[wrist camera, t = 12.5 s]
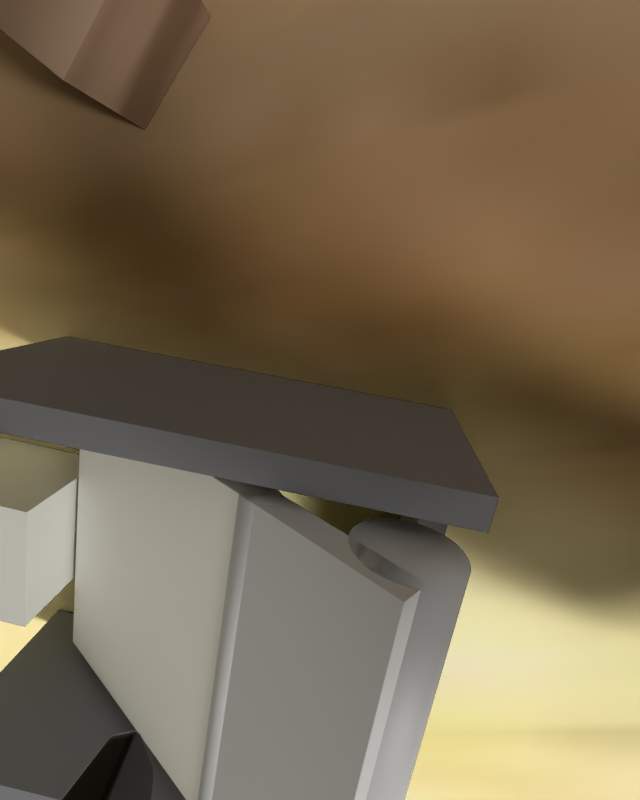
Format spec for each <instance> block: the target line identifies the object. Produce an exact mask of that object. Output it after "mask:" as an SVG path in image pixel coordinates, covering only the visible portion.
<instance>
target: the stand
mask: <svg viewBox="0 0 640 800" xmlns="http://www.w3.org/2000/svg"><path fill="white" fill-rule="evenodd" d="M209 18H210V14H209V12H208V11H207V9H206V8H205V6H204V5H203V3H202V2H201V0H0V29H1V30H2V31H3V32H4V33H6V34H7V35H8V36H9V37H10V38H12V39H13V40H14V41H15V42H17V43H18V44H19V45H20V46H22V47H23V48H24V49H25V50H27V51H28V52H29V53H30V54H31V55H33V56H34V57H35V58H36V59H38V60H39V61H40V62H41V63H43V64H44V65H45V66H46V67H47V68H49V69H50V70H51V71H52V72H54V73H55V74H56V75H57V76H59V77H60V78H61V79H62V80H64V81H65V82H67V83H69V84H70V85H72V86H73V87H75V88H77V89H78V90H80V91H82V92H83V93H85V94H87V95H88V96H90V97H92V98H93V99H95V100H96V101H98V102H100V103H101V104H103V105H105V106H106V107H108V108H110V109H111V110H113V111H115V112H116V113H118V114H119V115H121V116H123V117H124V118H126V119H128V120H129V121H131V122H133V123H134V124H136V125H138V126H139V127H141V128H143V129H144V130H145V128H146V127H147V125H148V123H149V121H150V120H151V118H152V116H153V115H154V113H155V111H156V109H157V108H158V106H159V104H160V102H161V101H162V99H163V97H164V96H165V94H166V92H167V90H168V89H169V87H170V85H171V84H172V82H173V80H174V78H175V77H176V75H177V73H178V71H179V70H180V68H181V66H182V65H183V63H184V61H185V59H186V58H187V56H188V54H189V53H190V51H191V49H192V47H193V46H194V44H195V42H196V40H197V39H198V37H199V35H200V34H201V32H202V30H203V28H204V27H205V25H206V23H207V22H208V20H209Z"/></svg>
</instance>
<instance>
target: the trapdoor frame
mask: <svg viewBox="0 0 640 800" xmlns="http://www.w3.org/2000/svg"><path fill="white" fill-rule="evenodd" d="M0 433H3V434H8V435H13V436H18V437H23V438H28V439H33V440H38V441H43V442H47V443H52V444H57V445H62V446H67V447H72V448H77V449H82V450H86V451H91V452H96V453H101V454H106V455H111V456H116V457H121V458H125V459H130V460H135V461H140V462H145V463H150V464H155V465H160V466H165V467H169V468H174V469H179V470H184V471H189V472H194V473H199V474H204V475H208V476H213V477H218V478H223V479H228V480H233V481H238V482H243V483H247V484H252V485H257V486H262V487H267V488H272V489H277V490H282V491H287V492H291V493H296V494H301V495H306V496H311V497H316V498H321V499H326V500H330V501H335V502H340V503H345V504H350V505H355V506H360V507H365V508H369V509H374V510H379V511H384V512H389V513H394V514H399V515H401V516H400V519H402V520H407V521H411V522H415V523H418V524H421V525H424V526H427V527H429V528H431V529H433V530H435V531H437V532H439V533H441V534H443V535H445V532H446V529H447V525H452V526H457V527H462V528H467V529H472V530H477V531H482V532H487V533H488V532H489V529H490V526H491V522H492V519H493V515H494V512H495V509H496V505H497V502H498V498H499V497H498V495H497V494H496V492H495V490H494V488H493V486H492V484H491V482H490V481H489V479H488V477H487V475H486V473H485V471H484V470H483V468H482V466H481V464H480V462H479V460H478V458H477V457H476V455H475V453H474V451H473V449H472V447H471V445H470V444H469V442H468V440H467V438H466V436H465V434H464V432H463V431H462V429H461V427H460V425H459V423H458V421H457V419H456V418H455V416H454V414H453V412H452V410H449V409H444V408H439V407H434V406H428V405H423V404H418V403H412V402H407V401H402V400H397V399H391V398H386V397H381V396H376V395H370V394H365V393H360V392H355V391H349V390H344V389H339V388H334V387H328V386H323V385H318V384H313V383H307V382H302V381H297V380H292V379H286V378H281V377H276V376H271V375H265V374H260V373H255V372H249V371H244V370H239V369H234V368H228V367H223V366H218V365H213V364H207V363H202V362H197V361H192V360H186V359H181V358H176V357H171V356H165V355H160V354H155V353H150V352H144V351H139V350H134V349H129V348H123V347H118V346H113V345H107V344H102V343H97V342H92V341H86V340H81V339H76V338H71V337H62V338H57V339H52V340H47V341H43V342H38V343H33V344H29V345H24V346H19V347H14V348H10V349H5V350H0ZM73 622H74V613H70V612H65V611H61V610H58V611H57V612H56V614H55V615H54V616H53V617H52V618H51V619H50V620H49V621H48V622H47V623H46V624H45V625H44V626H43V627H42V628H41V630H40V631H39V632H38V633H37V634H36V635H35V636H34V637H33V638H32V639H31V640H30V641H29V642H28V643H27V645H26V646H25V647H24V648H23V649H22V650H21V651H20V652H19V653H18V654H17V655H16V656H15V657H14V658H13V659H12V661H11V662H10V663H9V664H8V665H7V666H6V667H5V668H4V669H3V670H2V671H1V672H0V800H61V799H62V798H63V796H64V795H65V794H66V793H67V791H68V790H69V789H70V787H71V786H72V785H73V784H74V782H75V781H76V780H77V778H78V777H79V776H80V775H81V773H82V772H83V771H84V769H85V768H86V767H87V766H88V764H89V763H90V762H91V761H92V759H93V758H94V757H95V755H96V754H97V753H98V752H99V750H100V749H101V748H102V746H103V745H104V744H105V743H106V741H107V740H108V739H109V738H110V737H111V736H113V735H115V734H118V733H124V732H129V731H137V730H136V729H135V728H134V726H133V725H132V723H131V722H130V721H129V719H128V718H127V716H126V715H125V714H124V712H123V711H122V709H121V708H120V707H119V705H118V704H117V702H116V701H115V700H114V698H113V697H112V696H111V694H110V693H109V691H108V690H107V689H106V687H105V686H104V684H103V683H102V682H101V680H100V679H99V677H98V676H97V675H96V673H95V672H94V670H93V669H92V668H91V666H90V665H89V663H88V662H87V661H86V659H85V658H84V656H83V655H82V654H81V652H80V651H79V649H78V648H77V647H76V645H75V644H74V642H73ZM142 740H143V739H142ZM143 742H144V740H143ZM144 744H145V747H146V749H147V752H148V754H149V757H150V759H151V762H152V765H153V771H154V780H153V789H152V798H151V800H186V799H185V797H184V796H183V795H182V793H181V792H180V791H179V789H178V788H177V786H176V785H175V784H174V782H173V781H172V779H171V778H170V777H169V775H168V774H167V772H166V771H165V770H164V768H163V767H162V765H161V764H160V763H159V761H158V760H157V758H156V757H155V756H154V754H153V753H152V751H151V750H150V749H149V747H148V746H147V744H146V743H145V742H144Z"/></svg>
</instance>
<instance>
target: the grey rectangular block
mask: <svg viewBox="0 0 640 800" xmlns="http://www.w3.org/2000/svg"><path fill="white" fill-rule="evenodd" d="M78 483H79V455H78V454H73V453H69V452H64V451H60V450H55V449H51V448H46V447H42V446H38V445H33V444H29V443H24V442H20V441H15V440H11V439H6V438H2V437H0V621H3V622H7V623H11V624H15V625H19V626H23V627H25V626H26V625H27V624H28V623H29V622H30V621H31V620H32V619H33V618H34V617H35V616H36V615H37V614H38V613H39V612H40V611H41V610H42V609H43V608H44V607H45V606H46V605H47V604H48V603H49V602H50V601H51V600H52V599H53V598H54V597H55V596H56V595H57V594H58V593H59V592H60V591H61V590H62V589H63V588H64V587H65V586H66V585H67V584H68V583H69V582H70V581H71V580H72V579H73V578H74V577H75V566H76V538H77V510H78Z"/></svg>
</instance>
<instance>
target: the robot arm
mask: <svg viewBox="0 0 640 800" xmlns="http://www.w3.org/2000/svg"><path fill="white" fill-rule="evenodd" d="M153 780H154V771H153V765H152V762H151V759H150V757H149V754H148V752H147V749H146V747H145V744H144V742H143V740H142V737H141V735H140V733H138V732H137V731H129V732H124V733H118V734H115V735H113V736H111V737H110V738H109V739H108V740H107V741H106V743H105V744H104V745H103V746H102V748H101V749H100V750H99V752H98V753H97V754H96V755H95V757H94V758H93V759H92V761H91V762H90V763H89V764H88V766H87V767H86V768H85V769H84V771H83V772H82V773H81V775H80V776H79V777H78V778H77V780H76V781H75V782H74V784H73V785H72V786H71V787H70V789H69V790H68V791H67V793H66V794H65V795H64V796H63V798H62V799H61V800H151V798H152V789H153Z"/></svg>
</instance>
